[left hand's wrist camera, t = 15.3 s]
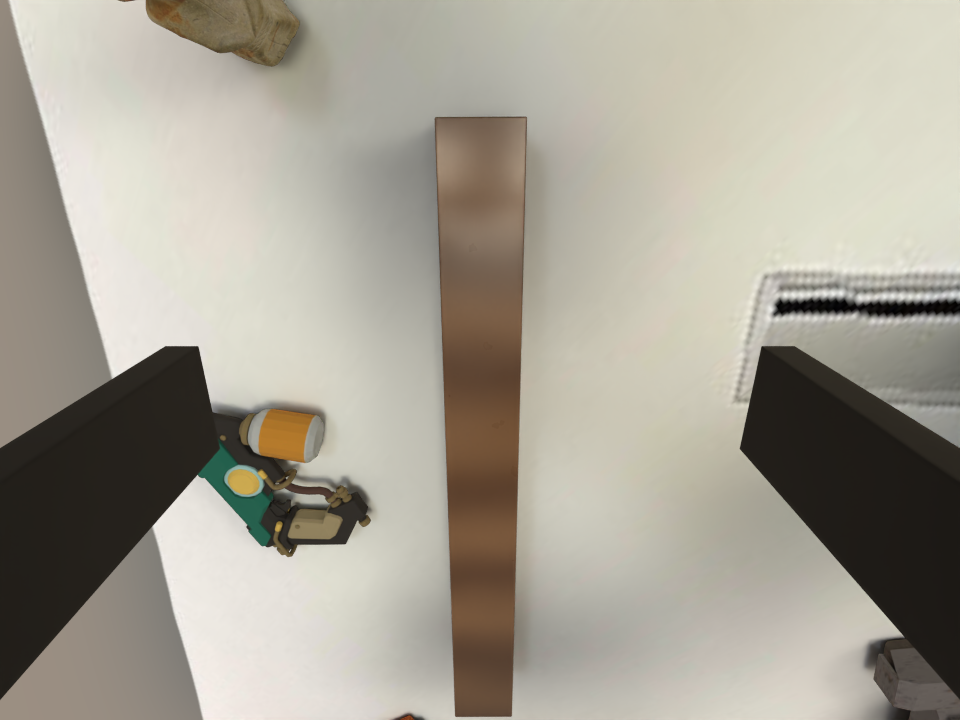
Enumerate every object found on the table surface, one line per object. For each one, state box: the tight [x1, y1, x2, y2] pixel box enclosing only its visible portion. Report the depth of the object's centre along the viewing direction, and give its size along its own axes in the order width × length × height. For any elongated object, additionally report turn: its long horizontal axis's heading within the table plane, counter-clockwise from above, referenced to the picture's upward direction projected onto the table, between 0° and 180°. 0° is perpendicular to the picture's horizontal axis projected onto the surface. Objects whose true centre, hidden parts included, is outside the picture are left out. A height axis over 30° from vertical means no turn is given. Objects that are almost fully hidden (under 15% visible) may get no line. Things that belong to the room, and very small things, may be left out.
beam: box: [435, 117, 527, 717], centre depth 45 cm, size 54×6×8 cm, turn 0°
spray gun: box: [198, 409, 371, 557], centre depth 48 cm, size 4×17×15 cm
